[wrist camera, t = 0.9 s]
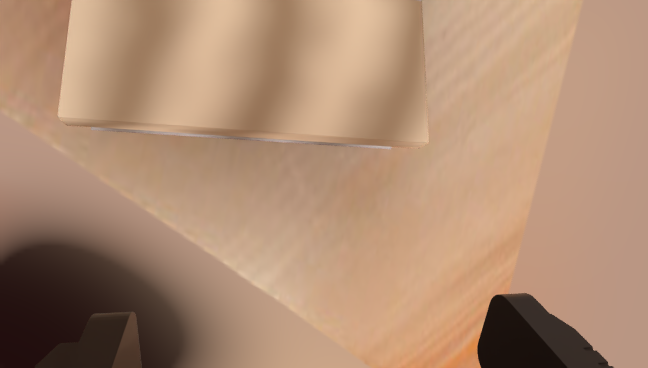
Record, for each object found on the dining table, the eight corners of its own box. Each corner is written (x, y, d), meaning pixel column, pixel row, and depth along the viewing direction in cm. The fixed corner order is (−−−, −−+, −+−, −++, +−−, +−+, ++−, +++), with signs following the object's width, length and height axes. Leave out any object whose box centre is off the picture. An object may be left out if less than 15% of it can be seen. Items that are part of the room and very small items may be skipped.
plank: (66, 125, 20) (57, 116, 19) (85, -34, 22) (78, -51, 20) (418, 148, 24) (428, 142, 23) (412, 13, 26) (421, 1, 25)
